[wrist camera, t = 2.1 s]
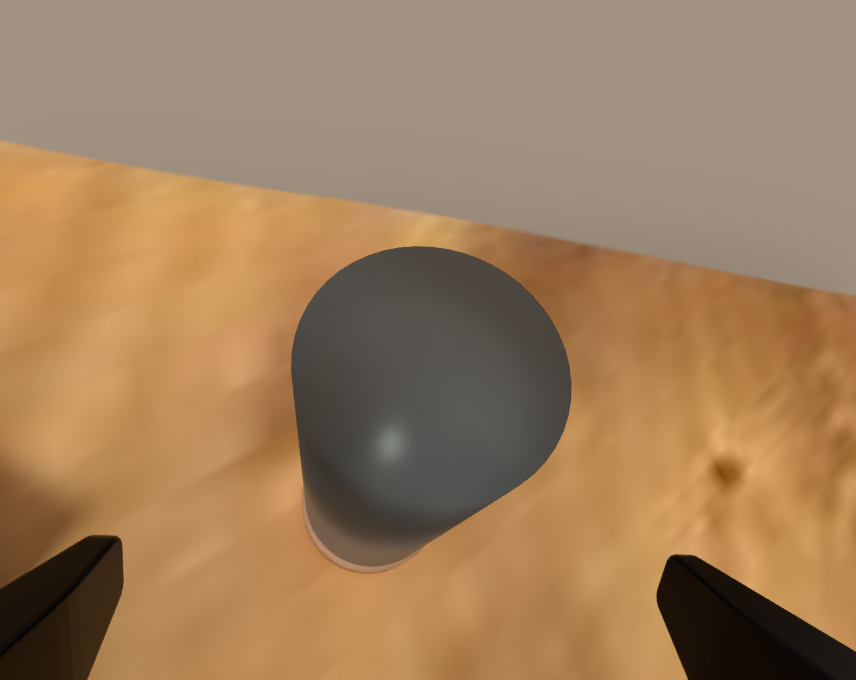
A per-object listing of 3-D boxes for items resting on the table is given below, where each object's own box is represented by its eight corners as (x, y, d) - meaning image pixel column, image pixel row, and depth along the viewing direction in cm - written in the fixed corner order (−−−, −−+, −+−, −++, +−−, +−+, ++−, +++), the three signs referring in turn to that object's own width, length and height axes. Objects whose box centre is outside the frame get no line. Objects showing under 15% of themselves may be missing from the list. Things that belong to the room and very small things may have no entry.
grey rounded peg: (455, 478, 20) (611, 324, 9) (394, 600, 17) (512, 581, 7) (348, 416, 20) (383, 201, 10) (275, 528, 18) (215, 406, 7)
